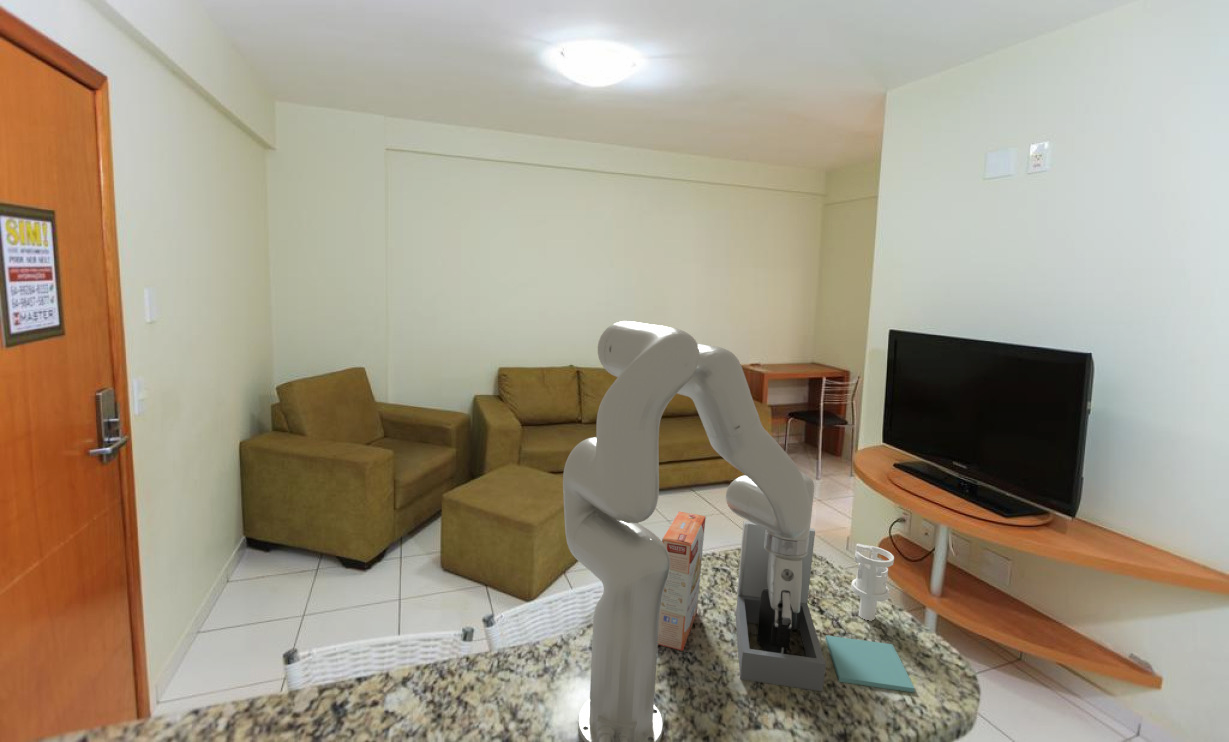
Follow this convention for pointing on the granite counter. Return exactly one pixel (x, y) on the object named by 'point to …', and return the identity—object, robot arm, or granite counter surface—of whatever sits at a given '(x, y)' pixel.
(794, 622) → the battery charger
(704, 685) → the granite counter surface
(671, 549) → the cracker box
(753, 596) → the case
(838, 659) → the mat
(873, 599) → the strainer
